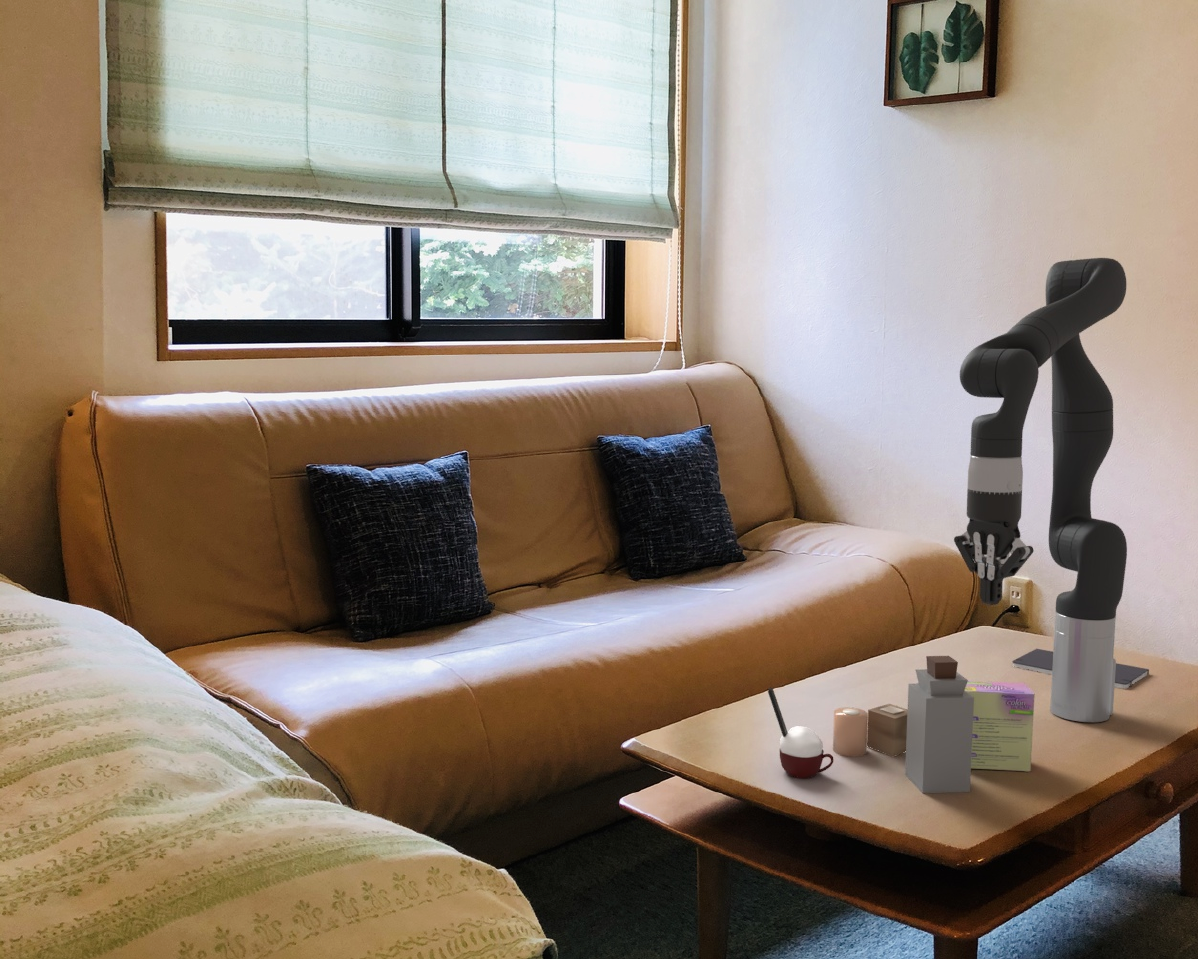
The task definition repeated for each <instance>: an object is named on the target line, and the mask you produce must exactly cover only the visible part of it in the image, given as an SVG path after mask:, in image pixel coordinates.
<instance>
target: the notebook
mask: <svg viewBox="0 0 1198 959" xmlns="http://www.w3.org/2000/svg"><path fill="white" fill-rule="evenodd" d="M1011 662H1012V664H1013V665H1014V666H1015V667H1014V666H1013V665H1012V666H1013V667H1014V668H1016V667H1020V668H1019V669H1021V668H1024V669H1023V670H1026V669H1029V670H1028V671H1031V670H1033V671H1032V672H1036V671H1038V672H1037V673H1041V672H1042V674H1045V675H1046V674H1047V675H1051V676H1052V667H1053V651H1051V650H1046V649H1040V648H1034V649H1033V650H1031V651H1029V652H1027V653H1025V654H1023V655H1021V656H1020V657H1018V658H1016V659H1015V658H1014V660H1012V661H1011ZM1149 672H1150V669H1149V668H1144V667H1138V666H1135V665H1134V666H1133V665H1128V664H1122V663H1118V662H1116V670H1115V687H1114V688H1118V689H1121V688H1122V689H1123V690H1126V689H1128V688H1130V687H1131V688H1132V686H1133V685H1134V684H1136V683H1138V681H1141V679H1143V678H1145V677H1146V676H1149V675H1150V674H1149ZM1135 682H1136V683H1135ZM1132 684H1133V685H1132ZM1129 686H1130V687H1129Z"/></svg>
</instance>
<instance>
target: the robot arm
mask: <svg viewBox="0 0 1198 959" xmlns="http://www.w3.org/2000/svg"><path fill="white" fill-rule="evenodd" d="M1045 279H1046V280H1045V306H1041V307H1040V308H1038V309H1035V310H1034V311H1031V312H1030V313H1028V314H1027V315H1025V316H1024V317H1022V318H1021V319H1020V320H1019V321H1018V322H1017V323H1016V324H1015V325H1013V326H1012V327H1011V328H1010V329H1009V330H1008V331H1007V332H1006V333H1003V334H1000V335H998V336H996V337H993V338H991V339H990V340H987V341H986V342H983V343H981V344H979V345H977V346H976V347H974V348H973V349H971V351H969V353H968V354H967V355H966V356H965V358H964V359H963V361H962V364H961V365H960V369H959V381H960V382H959V383H960V385H961V387H962V388H963V389H964V391H965V392H966V393H968V394H969V395H971V396H973V397H977V398H990V399H991V398H992V399H993V398H995V399H1003V401H1002V403H1001V405H1000V408H999V409H998V410H997V411H996V412H993V413H987V414H981V415H978V416H976V417H975V418H973V420H972V423H971V428H970V429H971V432H970V437H971V438H970V456H969V465H968V470H967V490H966V491H967V495H966V496H967V498H966V516H967V518H969V521H968V524H967V526H966V531H965V532H964V533H962V534H961V535H956V536H954V537H953V538H954V539H953V542H954V544H955V545H956V547H957V549H958V552H959V553H960V555H961V557H962V559H963V561H964V563H965V565H966V567H967V569H968V570H969V572H970V573H975V574H977V576H978V578H980V581H979V582H980V583H979V584H980V585H979V588H980V589H979V597H980V599H981V603H982V604H985V605H989V606H994V605H999V603H1000V601H1002V598H1003V581H1004V580H1005V579H1006V578H1012V577H1014V576H1016V574H1017V573H1018V572H1019V571H1020V569H1021V568H1022V567H1023V566H1024V564H1025V563H1026V562H1027V561H1028V560H1029V559H1030V557H1031V556H1032V555H1033V553H1034V548H1033V546H1032V545H1026V544H1025V542H1023V541H1022V540H1021V531H1020V529H1019V521H1020V520H1021V518H1022V508H1023V507H1022V504H1023V503H1022V502H1023V477H1024V475H1023V473H1024V472H1023V471H1024V470H1023V459H1022V458H1023V457H1022V456H1023V455H1022V454H1023V434H1024V426H1025V422H1026V418H1027V416H1028V411H1029V408H1030V404H1031V402H1032V399H1033V396H1034V393H1035V390H1036V388H1037V384H1038V381H1039V380H1038V379H1039V372H1040V371H1039V368H1041V367H1042V366H1043V365H1045V363H1046V362H1047V361H1049V359H1050V358H1051V360H1050V361H1051V432H1052V434H1051V436H1052V490H1051V491H1052V492H1051V493H1052V494H1051V505H1050V515H1049V525H1048V549H1049V553H1050V556H1051V558H1052V559H1053V561H1054V563H1056V564H1057V565H1058V566H1059V567H1061V568H1064V569H1066V570H1069V571H1073V572H1076V573H1077V574H1076V582H1075V586H1074V588H1073V589H1072V590H1069V591H1068V590H1067V591H1064V592H1061V593H1059V594H1058V595H1057V596H1056V600H1055V612H1054V630H1053V649H1052V650H1053V651H1052V652H1053V667H1052V675H1051V687H1050V689H1051V691H1050V707H1049V708H1050V709H1049V711H1050V712H1051V714H1053V715H1055V716H1057V717H1059V718H1062V719H1065V720H1069V721H1074V722H1075V721H1076V722H1080V723H1081V722H1083V723H1101V722H1105V721H1108V720H1109V719H1110V716H1111V715H1113V713H1114V702H1115V701H1114V700H1115V699H1114V698H1115V688H1116V687H1115V670H1116V663H1117V660H1116V659H1115V658H1114V654H1115V653H1114V652H1115V639H1116V638H1115V637H1116V636H1115V633H1116V617H1117V608H1118V606H1119V604H1120V601H1121V599H1122V597H1123V592H1124V591H1123V590H1124V583H1125V575H1126V567H1127V566H1126V565H1127V557H1128V545H1127V539H1126V536H1125V533H1124V531H1123V530H1122V528H1121V527H1120V526H1119V525H1117V524H1116V523H1114V522H1111V521H1108V520H1103V519H1099V518H1098V519H1097V518H1093V517H1092V510H1091V507H1092V506H1091V505H1092V504H1091V500H1092V498H1091V496H1092V495H1091V494H1092V487H1093V483H1094V479H1095V477H1096V475H1097V473H1098V471H1099V469H1100V467H1101V465H1102V464H1103V462H1104V460H1105V458H1106V456H1107V455H1108V452H1109V450H1110V448H1111V445H1112V443H1113V439H1114V398H1113V395H1112V393H1111V390H1110V388H1109V387H1108V386H1107V384H1106V382H1105V380H1104V379H1103V377H1102V376H1101V374H1100V373H1099V372H1098V369H1096V367H1095V366H1094V364H1093V363H1092V362H1091V360H1090V359H1089V357H1088V355H1087V353H1086V351H1085V349H1084V347H1083V344H1082V341H1081V340H1082V339H1081V336H1080V334H1081V333H1083V332H1084V331H1086V330H1087V329H1089V328H1091V327H1092V326H1093V325H1095V324H1097V323H1098V322H1100V321H1102V320H1104V319H1106V318H1107V317H1109V316H1111V315H1112V314H1114V313H1115V312H1116V311H1118V309H1119V308H1120V307H1121V306H1122V304H1123V302H1124V300H1125V297H1126V294H1127V293H1126V292H1127V276H1126V273H1125V269H1124V267H1123V265H1122V264H1121V263H1120V262H1119V261H1118V260H1116V259H1114V258H1110V257H1095V258H1083V259H1082V258H1079V259H1072V260H1062V261H1058V262H1055V263H1054V264H1052V266H1050V268H1049V270H1048V273H1047V275H1046V278H1045Z"/></svg>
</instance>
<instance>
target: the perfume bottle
mask: <svg viewBox="0 0 1198 959" xmlns="http://www.w3.org/2000/svg"><path fill="white" fill-rule="evenodd" d="M958 664H959V662H958V661H957V660H956V659H954V658H953V657H952V656H949V655H926V669H915V673H916V677H917V678H916V679H917V681H918V683H908V690H907V709H908V712H907V738H906V753H905V763H904V764H905V766H904V768H905V770H904V775H905V776H906V777H907V778H908V780H910V781H911V783H912V784H913V785H914V786H915V787H916V788H917V789H918V790H919V791H920V792H921V793H922V794H937V793H938V794H940V793H941V794H942V793H966V792H967V793H970V791H971V774H972V773H971V770H972V768H971V754H972V732H973V710H974V697H973V696H972V695H970V694H969V693H968V692H966V691H965V687H966V684H967V682H968V681H969V679H967V678H966V677H965V676H963V675H961V673H959V672H957V670H958V666H959V665H958Z"/></svg>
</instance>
